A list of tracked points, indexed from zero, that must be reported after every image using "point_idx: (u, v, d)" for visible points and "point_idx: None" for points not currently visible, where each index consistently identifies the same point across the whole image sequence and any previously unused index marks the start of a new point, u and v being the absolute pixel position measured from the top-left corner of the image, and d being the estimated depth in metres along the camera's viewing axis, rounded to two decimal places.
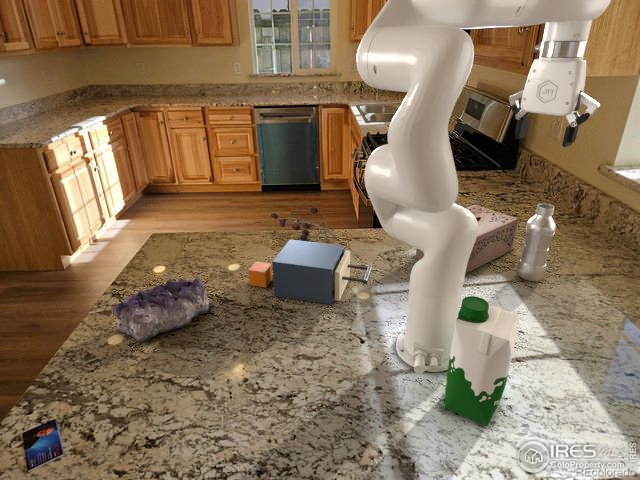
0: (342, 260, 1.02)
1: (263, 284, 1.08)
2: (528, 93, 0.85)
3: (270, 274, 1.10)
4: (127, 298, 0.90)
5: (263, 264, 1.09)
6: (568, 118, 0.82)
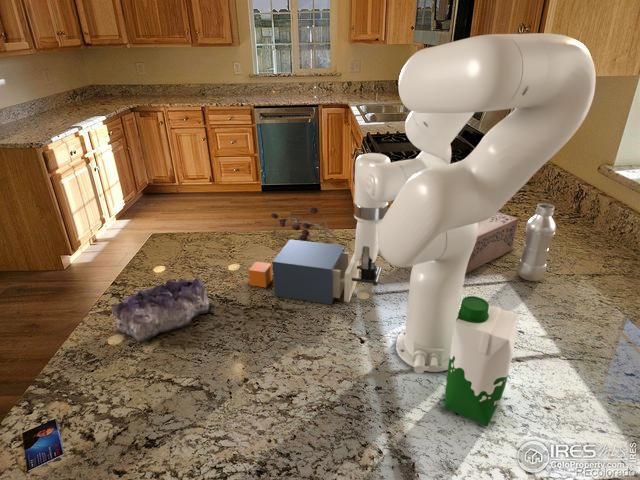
0: (351, 261, 1.02)
1: (263, 284, 1.08)
2: None
3: (270, 274, 1.10)
4: (127, 298, 0.90)
5: (263, 264, 1.09)
6: None
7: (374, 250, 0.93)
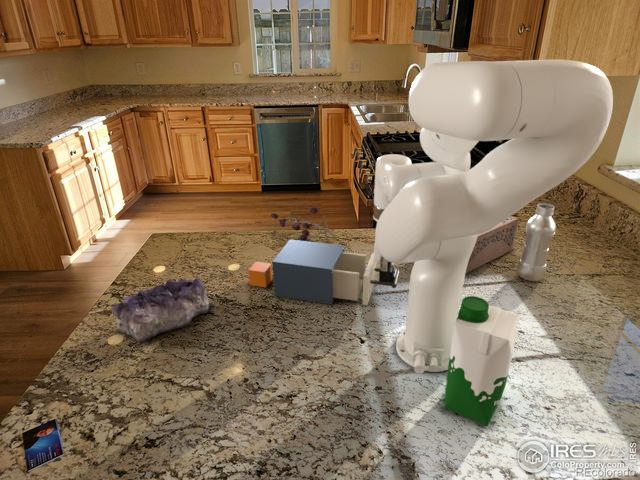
0: (370, 263, 1.00)
1: (263, 284, 1.08)
2: None
3: (270, 274, 1.10)
4: (127, 298, 0.90)
5: (263, 264, 1.09)
6: None
7: None
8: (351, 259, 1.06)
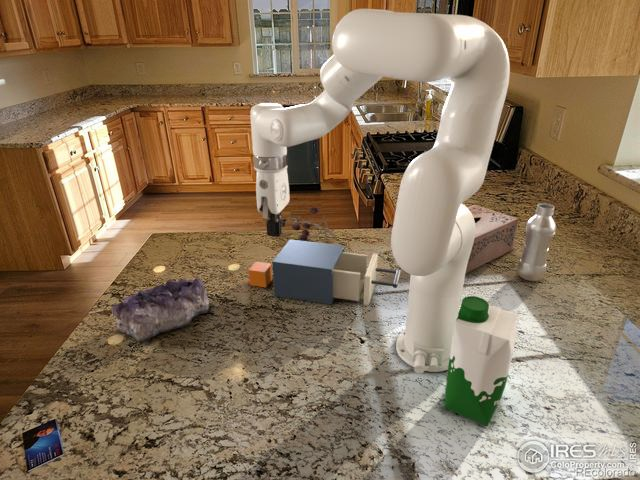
0: (371, 264, 1.00)
1: (263, 284, 1.08)
2: (277, 200, 0.95)
3: (270, 274, 1.10)
4: (127, 298, 0.90)
5: (263, 264, 1.09)
6: None
7: None
8: (352, 259, 1.06)
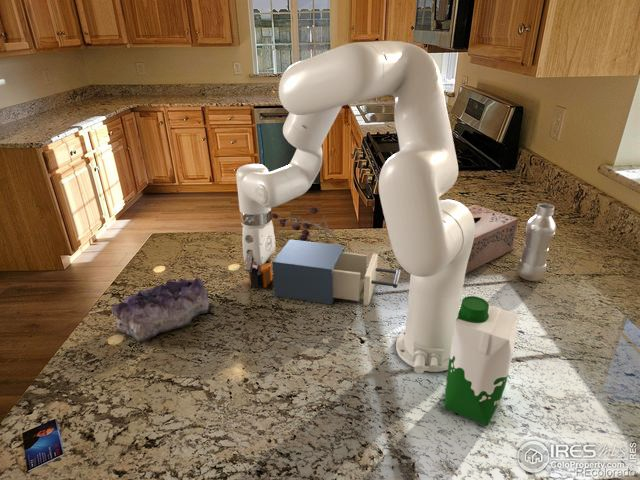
0: (371, 264, 1.00)
1: (263, 284, 1.08)
2: (262, 252, 1.02)
3: (270, 274, 1.10)
4: (127, 298, 0.90)
5: None
6: None
7: None
8: (352, 259, 1.06)
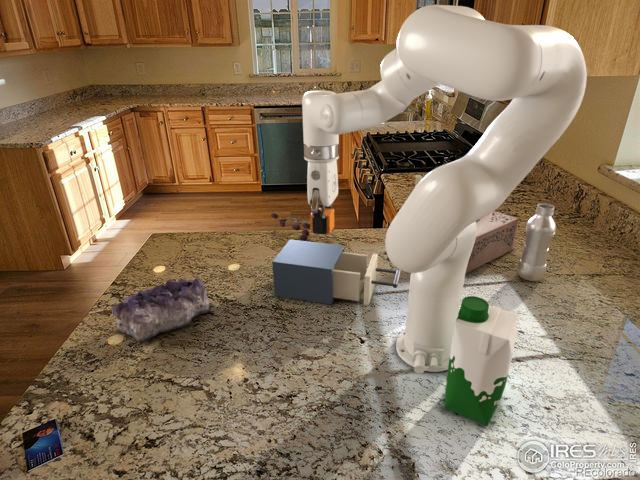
0: (371, 264, 1.00)
1: None
2: (329, 191, 0.91)
3: (333, 220, 0.99)
4: (127, 298, 0.90)
5: None
6: None
7: None
8: (352, 259, 1.06)
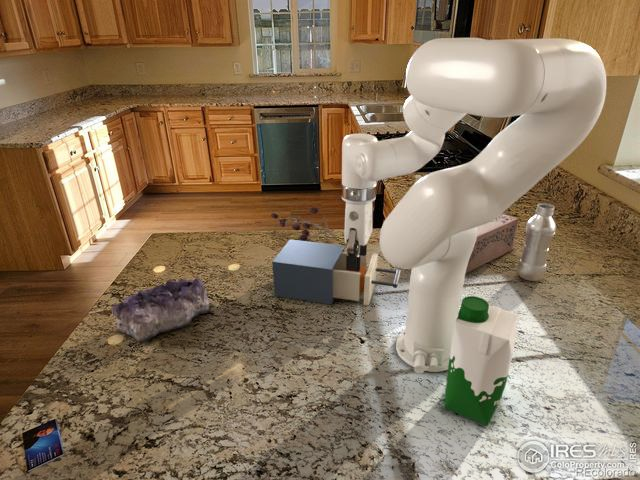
0: (371, 264, 1.00)
1: (360, 289, 1.01)
2: (366, 231, 0.93)
3: None
4: (127, 298, 0.90)
5: None
6: None
7: None
8: None
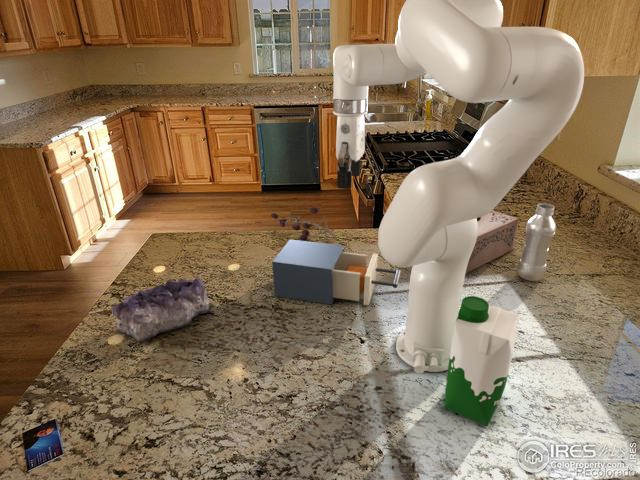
0: (371, 264, 1.00)
1: (360, 289, 1.01)
2: (358, 146, 0.93)
3: None
4: (127, 298, 0.90)
5: (358, 268, 1.03)
6: None
7: None
8: (352, 259, 1.06)
